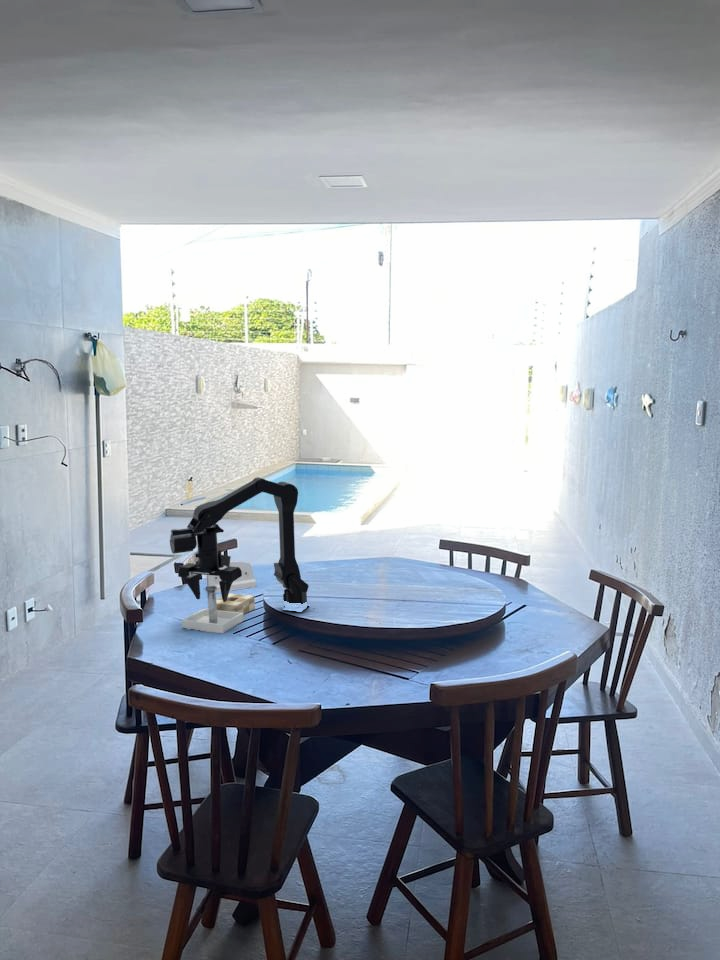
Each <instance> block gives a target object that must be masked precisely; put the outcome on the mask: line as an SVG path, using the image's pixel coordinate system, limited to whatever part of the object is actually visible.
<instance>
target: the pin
mask: <svg viewBox="0 0 720 960" xmlns="http://www.w3.org/2000/svg"><path fill="white" fill-rule="evenodd" d="M216 590H217V586H207V585H206V586H205V591H207V605H208V607H207V609H208V611H209V623H215V624H216V623H217V605H216V599H217V593H216Z"/></svg>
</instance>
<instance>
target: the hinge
mask: <svg viewBox="0 0 720 960" xmlns="http://www.w3.org/2000/svg"><path fill="white" fill-rule="evenodd" d="M230 567H239V568H240V569H241V571H242V576H241V577H239V578H238V579H237V580H235V581H233V583H232V585H231V587H230V590H229V592H232V591H238V590H244V589H249V588H255V587H256V588H257V587H258V586H257V581H256V579H255V575H254V571H253V569H252V565H251V563H249V562H246V561H235V560H234V561H230ZM225 568H227V567H226V566H224V567H222V568H219V569H222V570H223V569H225ZM220 581H222V580H221V579H220V578H219V576H214V575H206V587H207V586H217V590H216V594H221V589H220V584H219V582H220Z"/></svg>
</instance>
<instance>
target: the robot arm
mask: <svg viewBox="0 0 720 960" xmlns="http://www.w3.org/2000/svg"><path fill="white" fill-rule="evenodd" d="M261 493H265V494H267V495H271V496H273V499H274V504H275V506H276V509H277V511H278V528H279V530H278V531H279V533H278V534H279V535H278V536H279V555H280V556H279V560H278V562H274V563H273V567H274V573H273V576H275V580H276V581H277V582H278V583H279V584H281V585H282V587H283V588H284V590H283V595H282V598H283V599H282V600H284V601H287V602H289V603H301V604H303V603H305V602H307V603H308V596H307V595H308V594H307V592H308V590H309V587H310V585H309V584H308V583H307V582H305V580H303V579H302V576H301V572H300V567H299V564H298V562H297V560H296V546H295V545H296V543H295V542H296V540H295V519H294V517H295V516H294V514H295V509H296V507H297V504H298V498H299V490H298V488H297V487H296V486H295V485H294V484H291V483H289V482H286V481H279V482H275V481H274V482H273V481H271V480H266V479H265V478H263V477H260V476H259V477H254V478H253V479H252V480H251V481H249V482H247V483H246V484H244V485H242V486H240V487H238V488H237V489H235V490H233V491H232V492H230V493H228V494H226V495H224V496H222V497H221V498H219V499H216V500H212V501H208V502H205V503H201V504H200V505H198V506H196V507H195V508H194V510H193V514H192V515H193V516H192V518H191V520H190V521H189V523H188V524H187V526H186V528H181V529H180V528H179V529H175V528H173V529H171V530H170V537H169V547H170V551H171V553H172V554H173V555H174V554H182V553H187V552H194V549H196V548H197V552H196V553H194V554H195V558H198V563H193V562H189V563H185V564H184V565H181V566H179V568H178V570H177V576H178V577H179V578H181V579H182V581H184V582H185V583H186V585H187V586H188V587H189V588H190V590H191V591H192V593H193V595H194V596H195V598H196V599H197V600H200V599H201V586H200V579H201V576H202V575H203V576H207V575H214V576H219V578H220V579H221V580H222V581H220V582H219V584H220V589H221V593H220V595H221V596H222V599H223V602H226V601H227V597H228V594H229V593H230V591H229V590H230V587H231V585H232V583H233V581H235V580H237V579H238V578H239V577H241V576H242V571H241V569H240V568H239V567H230V562H231V559H232V557H231V556H230V555H225V554H222V550H220V549H219V545H218V534H219V533H224V532H225V531H224V529H223V528H221V527H220V526H219V524H218V522H219V521H221V520H222V519H223V518H224V517H225V515H227V514H228V513H229V512H230V511H231V510H234V509H235V508H237V507H238V506H241V505H242V504H244V503H246V502H247V501H249V500H251V499H252V498H255V497H256V496H258V495H259V494H261ZM224 566H226V567H227V568H225V569H223V570H222V569H219V568H222V567H224Z"/></svg>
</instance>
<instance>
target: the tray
mask: <svg viewBox="0 0 720 960" xmlns="http://www.w3.org/2000/svg"><path fill="white" fill-rule="evenodd" d="M243 622H244V615H243V613H238V612H229V611H220V610H217V623H216V624H215V623H209V611H208V608H203V609H200V610H199V611H196V612H194V613H193V614H191V615H189V616H188V617H185V618H184V619H182V620H181V625H182V627H183V628H189V629H188V630H190V629H195V630H194V631H198V630H200V632H208V633H214V634H223V635H224V634H225V633H226V632H228V631H229V630H232V629H233V628H235V627H237V626H238V625H240V624H241V623H243ZM182 627H181V628H182ZM183 628H182V629H183Z"/></svg>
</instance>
